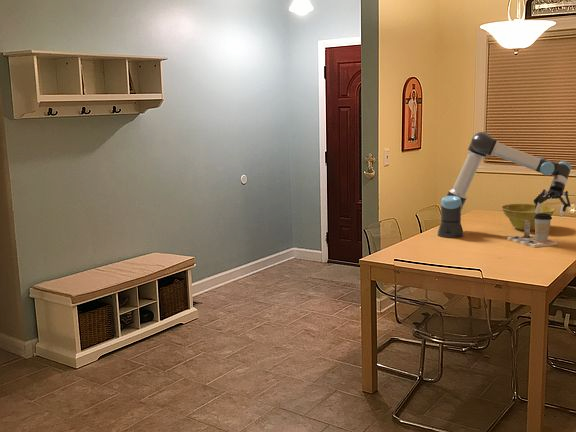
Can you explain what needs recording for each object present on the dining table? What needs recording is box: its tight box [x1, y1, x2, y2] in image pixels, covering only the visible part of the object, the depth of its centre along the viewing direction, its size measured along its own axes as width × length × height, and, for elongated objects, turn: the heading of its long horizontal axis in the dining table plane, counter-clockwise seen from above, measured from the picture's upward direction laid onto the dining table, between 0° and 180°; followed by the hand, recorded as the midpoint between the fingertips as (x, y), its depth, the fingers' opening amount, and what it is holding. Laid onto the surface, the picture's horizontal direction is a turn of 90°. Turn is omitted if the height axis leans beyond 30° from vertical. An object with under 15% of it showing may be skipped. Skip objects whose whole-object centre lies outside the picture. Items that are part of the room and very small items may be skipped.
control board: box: [507, 220, 558, 248], centre depth 356 cm, size 22×16×12 cm
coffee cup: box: [534, 214, 553, 242], centre depth 351 cm, size 9×9×15 cm
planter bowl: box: [500, 203, 557, 232], centre depth 394 cm, size 32×32×13 cm
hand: (548, 214), depth 354 cm, fingers open, 13 cm apart
